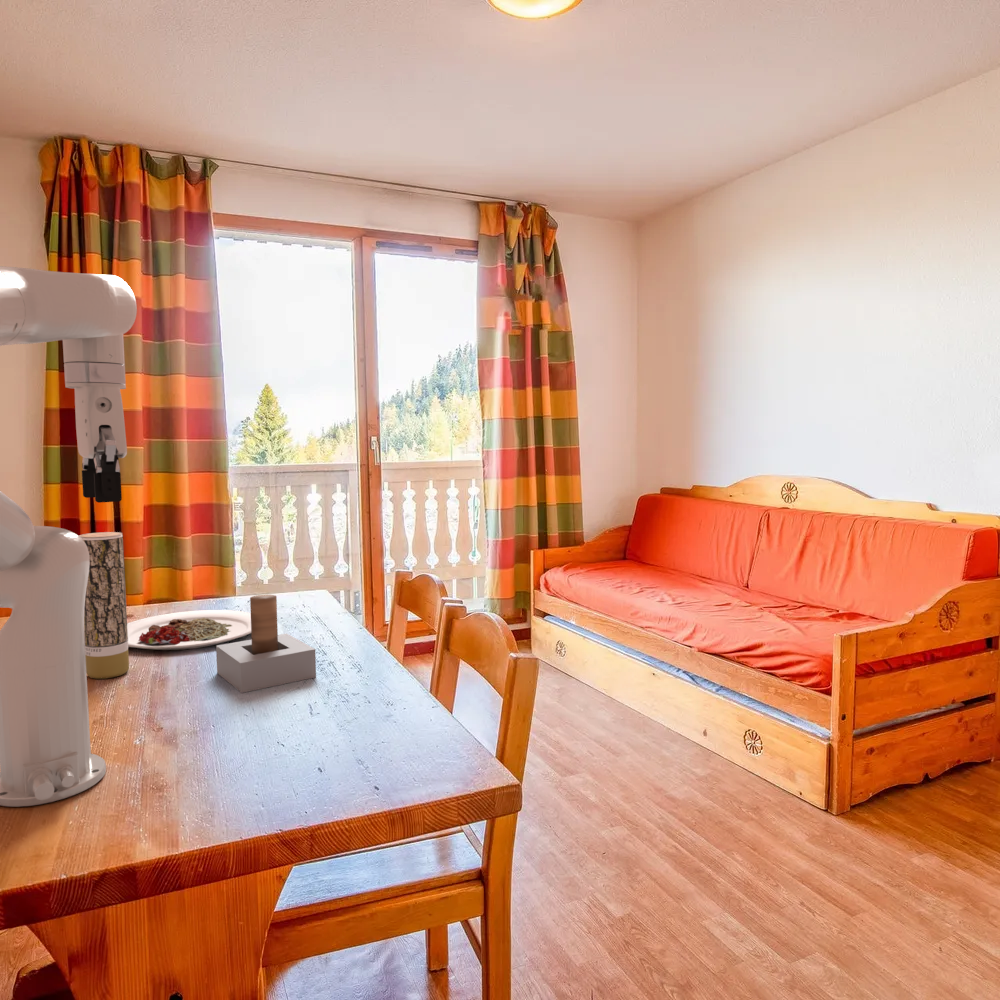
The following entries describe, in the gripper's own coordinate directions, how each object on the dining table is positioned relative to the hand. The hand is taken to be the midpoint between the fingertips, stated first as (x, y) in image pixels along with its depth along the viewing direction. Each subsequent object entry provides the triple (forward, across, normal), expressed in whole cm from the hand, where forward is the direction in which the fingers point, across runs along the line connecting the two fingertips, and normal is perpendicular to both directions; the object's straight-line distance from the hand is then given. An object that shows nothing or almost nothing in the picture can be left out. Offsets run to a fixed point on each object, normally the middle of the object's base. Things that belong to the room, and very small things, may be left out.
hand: (101, 499), depth 107 cm
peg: (+33, +9, -26) cm, 43 cm away
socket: (+33, +9, -26) cm, 43 cm away
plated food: (+34, +46, -23) cm, 62 cm away
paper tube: (+34, +27, -4) cm, 43 cm away
